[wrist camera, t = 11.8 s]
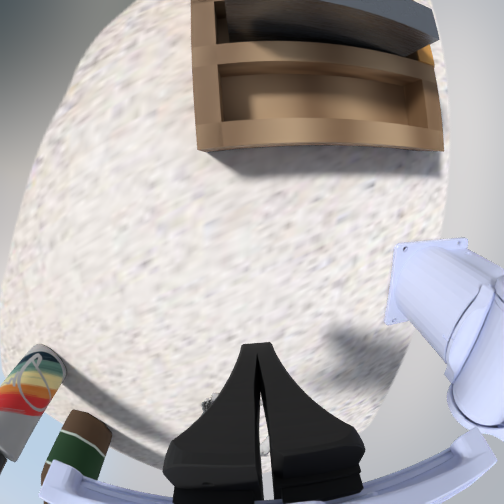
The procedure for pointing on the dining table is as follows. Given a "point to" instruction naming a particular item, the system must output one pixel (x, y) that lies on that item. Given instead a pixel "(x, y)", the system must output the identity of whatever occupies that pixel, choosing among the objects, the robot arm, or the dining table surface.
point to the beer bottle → (80, 445)
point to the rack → (307, 92)
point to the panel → (335, 23)
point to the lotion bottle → (27, 398)
